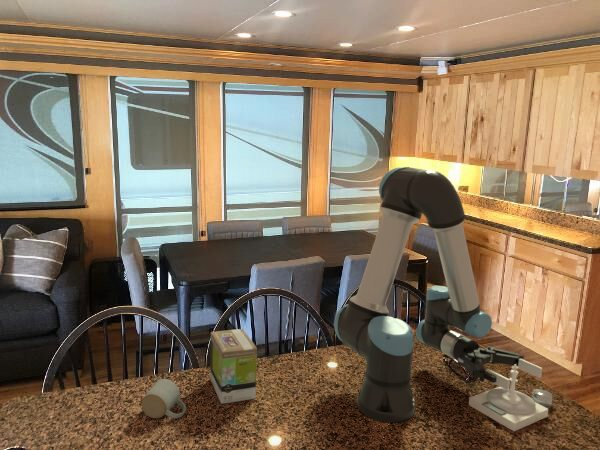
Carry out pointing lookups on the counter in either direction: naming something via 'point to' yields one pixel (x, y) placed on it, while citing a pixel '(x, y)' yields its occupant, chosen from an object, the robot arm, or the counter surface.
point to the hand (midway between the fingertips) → (525, 378)
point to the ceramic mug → (162, 400)
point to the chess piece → (512, 389)
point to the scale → (508, 408)
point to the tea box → (233, 365)
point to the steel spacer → (542, 397)
